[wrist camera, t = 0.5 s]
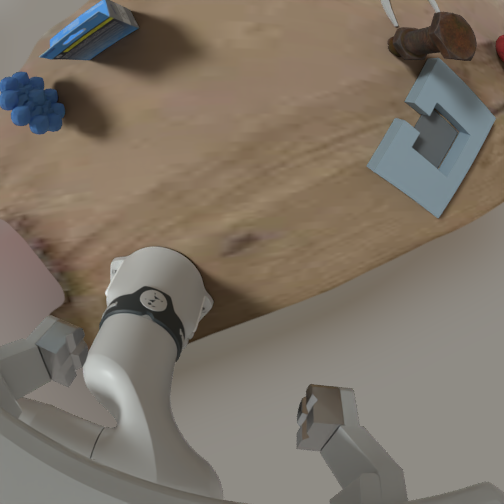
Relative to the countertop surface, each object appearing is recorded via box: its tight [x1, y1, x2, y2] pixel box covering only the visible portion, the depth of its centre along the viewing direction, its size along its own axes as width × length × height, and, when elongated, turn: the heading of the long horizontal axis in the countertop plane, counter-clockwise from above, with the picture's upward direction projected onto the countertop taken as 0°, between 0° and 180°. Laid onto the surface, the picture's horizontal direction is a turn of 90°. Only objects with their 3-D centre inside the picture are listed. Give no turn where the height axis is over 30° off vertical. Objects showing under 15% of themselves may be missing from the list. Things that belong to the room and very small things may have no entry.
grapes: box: [0, 72, 65, 134], centre depth 28 cm, size 12×7×12 cm, turn 29°
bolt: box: [388, 12, 476, 61], centre depth 24 cm, size 6×5×15 cm
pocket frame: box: [367, 58, 496, 218], centre depth 35 cm, size 20×14×3 cm
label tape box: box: [39, 0, 139, 60], centre depth 24 cm, size 9×4×12 cm, turn 112°
